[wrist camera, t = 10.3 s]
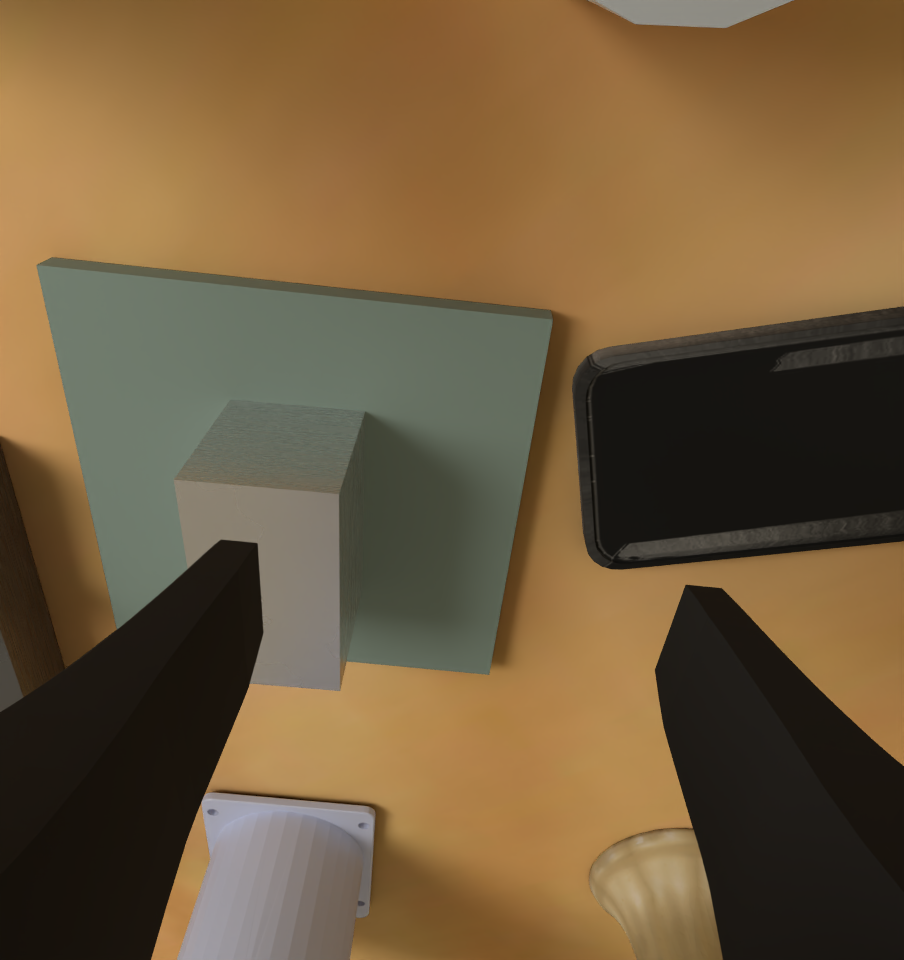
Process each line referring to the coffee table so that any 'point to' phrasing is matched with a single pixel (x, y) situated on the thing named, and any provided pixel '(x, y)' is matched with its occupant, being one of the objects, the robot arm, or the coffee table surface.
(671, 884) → the hand bell
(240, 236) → the coffee table surface
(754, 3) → the grey and white cylinder
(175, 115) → the coffee table surface
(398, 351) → the rubber mat
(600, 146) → the coffee table surface
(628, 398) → the phone
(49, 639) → the hand plane
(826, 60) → the coffee table surface
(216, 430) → the rectangular metal block
